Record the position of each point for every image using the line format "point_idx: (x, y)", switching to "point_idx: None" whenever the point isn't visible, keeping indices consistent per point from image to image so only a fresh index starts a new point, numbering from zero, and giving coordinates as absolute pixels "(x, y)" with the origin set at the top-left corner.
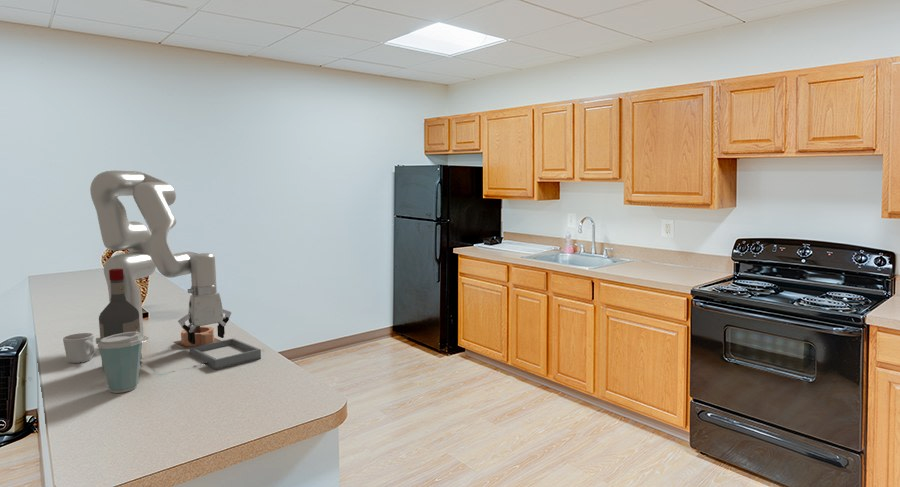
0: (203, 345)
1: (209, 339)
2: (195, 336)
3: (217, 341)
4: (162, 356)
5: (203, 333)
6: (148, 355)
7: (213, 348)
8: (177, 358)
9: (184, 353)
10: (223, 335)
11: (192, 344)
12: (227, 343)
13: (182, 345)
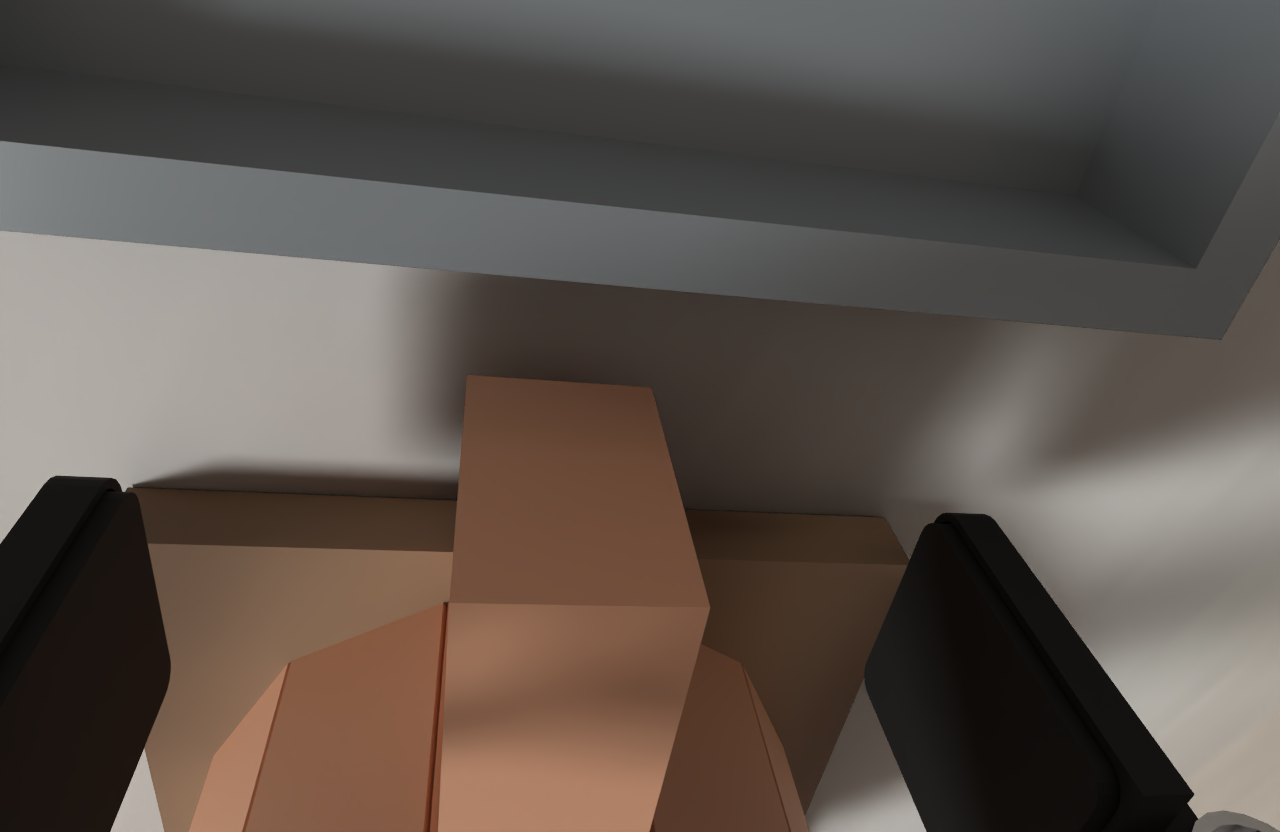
0: (917, 235)
1: (560, 500)
2: (725, 815)
3: (214, 602)
4: (1186, 599)
5: (575, 824)
6: (1192, 740)
7: (585, 152)
8: (1228, 339)
9: (943, 509)
10: (32, 517)
11: (736, 681)
12: (86, 107)
13: (800, 767)
